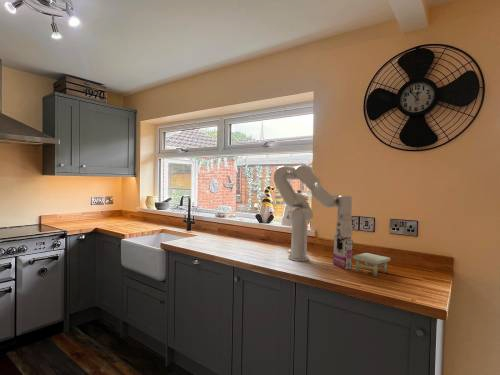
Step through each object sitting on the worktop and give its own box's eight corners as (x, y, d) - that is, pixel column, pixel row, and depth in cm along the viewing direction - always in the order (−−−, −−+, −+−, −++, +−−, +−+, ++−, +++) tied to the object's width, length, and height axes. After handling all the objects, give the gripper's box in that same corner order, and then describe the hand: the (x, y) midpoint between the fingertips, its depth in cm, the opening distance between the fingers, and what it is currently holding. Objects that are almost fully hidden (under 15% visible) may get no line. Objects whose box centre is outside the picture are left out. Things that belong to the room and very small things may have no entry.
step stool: (352, 270, 163) (352, 255, 163) (365, 266, 172) (366, 252, 172) (376, 276, 152) (377, 261, 152) (389, 272, 161) (390, 257, 161)
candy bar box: (352, 269, 165) (353, 239, 165) (345, 269, 163) (346, 240, 163) (339, 264, 175) (340, 236, 175) (332, 264, 174) (333, 236, 173)
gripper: (341, 218, 161) (339, 251, 161) (358, 217, 171) (357, 248, 172) (329, 217, 166) (328, 249, 167) (347, 215, 177) (346, 245, 177)
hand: (343, 248), depth 169 cm, fingers closed on candy bar box, 6 cm apart
